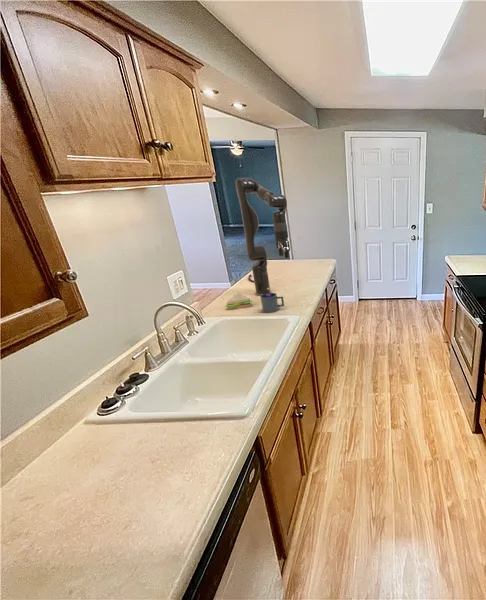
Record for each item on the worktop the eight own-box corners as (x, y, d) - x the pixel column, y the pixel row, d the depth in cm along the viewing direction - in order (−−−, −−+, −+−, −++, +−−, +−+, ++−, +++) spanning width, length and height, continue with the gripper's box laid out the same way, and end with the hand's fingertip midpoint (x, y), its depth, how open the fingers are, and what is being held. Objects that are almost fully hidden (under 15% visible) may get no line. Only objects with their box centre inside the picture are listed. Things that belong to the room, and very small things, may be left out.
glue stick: (267, 309, 199) (265, 294, 196) (272, 307, 201) (270, 293, 198) (269, 310, 197) (267, 295, 194) (274, 309, 199) (272, 294, 196)
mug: (261, 313, 194) (259, 298, 191) (264, 307, 203) (262, 293, 199) (283, 311, 197) (281, 296, 193) (285, 306, 205) (283, 292, 202)
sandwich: (256, 297, 220) (255, 290, 218) (251, 308, 202) (250, 300, 200) (231, 299, 216) (230, 292, 215) (224, 310, 199) (222, 302, 197)
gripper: (291, 230, 192) (295, 257, 198) (282, 228, 202) (285, 254, 208) (279, 232, 187) (283, 259, 193) (269, 229, 197) (273, 255, 203)
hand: (284, 256), depth 200 cm, fingers open, 8 cm apart
